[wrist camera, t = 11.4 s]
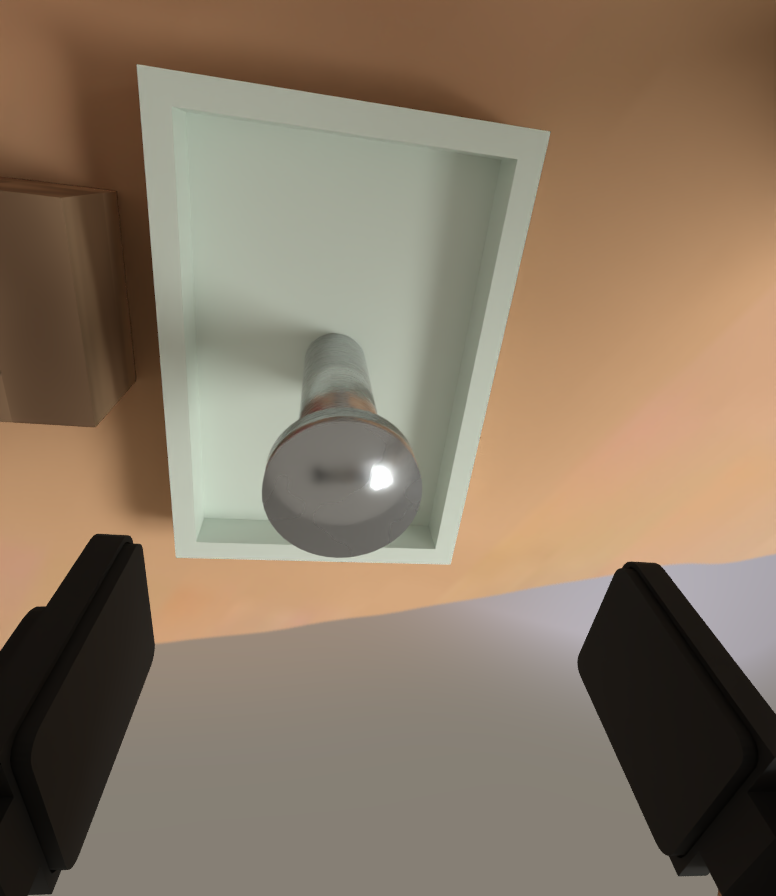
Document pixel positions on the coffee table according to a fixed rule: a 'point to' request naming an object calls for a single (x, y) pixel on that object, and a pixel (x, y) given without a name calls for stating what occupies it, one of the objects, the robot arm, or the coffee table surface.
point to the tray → (324, 287)
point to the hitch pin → (340, 462)
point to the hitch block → (61, 304)
